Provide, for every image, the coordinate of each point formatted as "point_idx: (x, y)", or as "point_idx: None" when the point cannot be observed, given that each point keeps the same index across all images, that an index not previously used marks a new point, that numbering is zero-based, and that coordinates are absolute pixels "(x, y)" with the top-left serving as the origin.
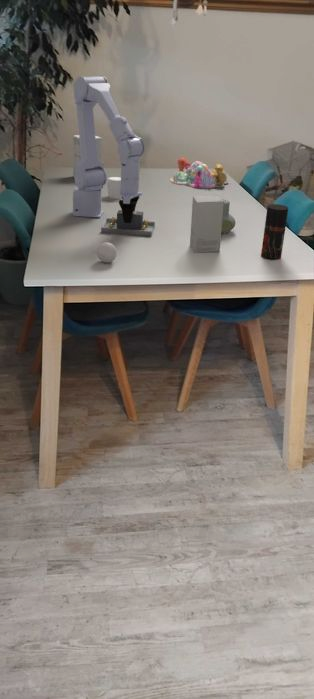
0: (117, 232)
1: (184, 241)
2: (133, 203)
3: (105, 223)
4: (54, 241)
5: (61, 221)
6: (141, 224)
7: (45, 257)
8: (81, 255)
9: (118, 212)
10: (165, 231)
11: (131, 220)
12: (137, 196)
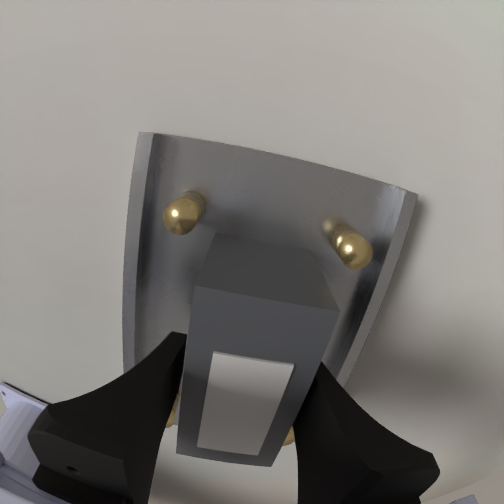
0: None
1: (466, 13)
2: (429, 483)
3: (175, 424)
4: None
5: (166, 500)
6: (320, 271)
7: (471, 476)
8: (499, 430)
9: (247, 461)
10: (276, 58)
11: None
12: (91, 463)
